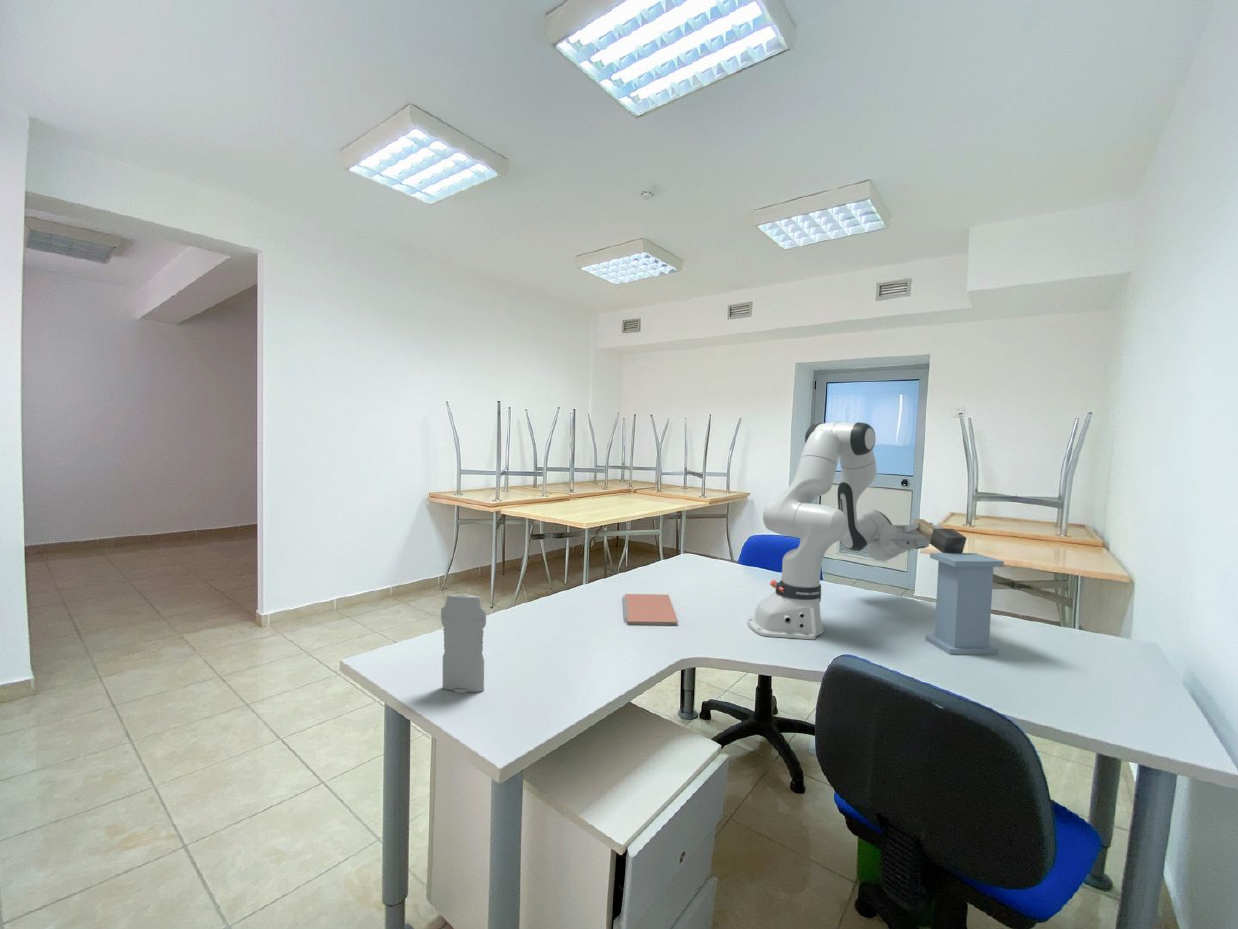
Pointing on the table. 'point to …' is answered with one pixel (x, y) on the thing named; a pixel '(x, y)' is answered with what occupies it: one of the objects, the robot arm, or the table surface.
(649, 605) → the notebook
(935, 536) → the mallet
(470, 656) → the tall pale column
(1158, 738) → the table surface
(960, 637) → the stand
